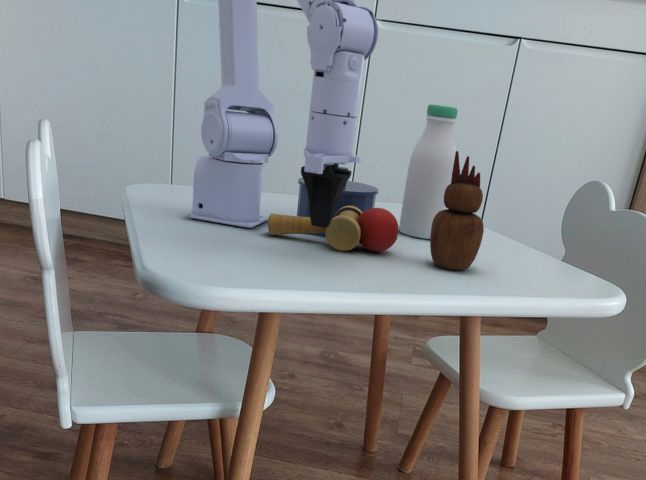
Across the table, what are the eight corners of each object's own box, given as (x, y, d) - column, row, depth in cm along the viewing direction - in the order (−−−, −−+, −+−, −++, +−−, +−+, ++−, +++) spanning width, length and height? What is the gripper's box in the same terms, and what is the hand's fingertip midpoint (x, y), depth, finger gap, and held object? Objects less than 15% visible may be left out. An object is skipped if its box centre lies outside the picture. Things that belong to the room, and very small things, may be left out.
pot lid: (287, 189, 99) (290, 164, 97) (309, 181, 110) (311, 158, 109) (370, 203, 97) (373, 177, 96) (383, 193, 108) (386, 170, 107)
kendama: (263, 250, 93) (396, 252, 90) (262, 202, 91) (397, 203, 89) (276, 249, 100) (399, 251, 98) (276, 205, 99) (400, 206, 97)
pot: (287, 230, 101) (291, 185, 99) (307, 218, 111) (311, 178, 109) (362, 243, 99) (368, 198, 97) (375, 230, 110) (381, 189, 108)
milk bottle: (439, 242, 107) (463, 108, 100) (392, 233, 109) (412, 101, 102) (449, 235, 114) (472, 109, 107) (405, 227, 116) (424, 103, 109)
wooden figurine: (421, 266, 91) (440, 149, 85) (431, 258, 96) (450, 148, 90) (471, 276, 89) (494, 158, 83) (478, 268, 94) (501, 156, 89)
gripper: (353, 120, 75) (338, 241, 80) (375, 118, 88) (361, 222, 93) (292, 111, 76) (280, 231, 81) (322, 110, 89) (311, 213, 94)
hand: (320, 225), depth 87 cm, fingers closed
